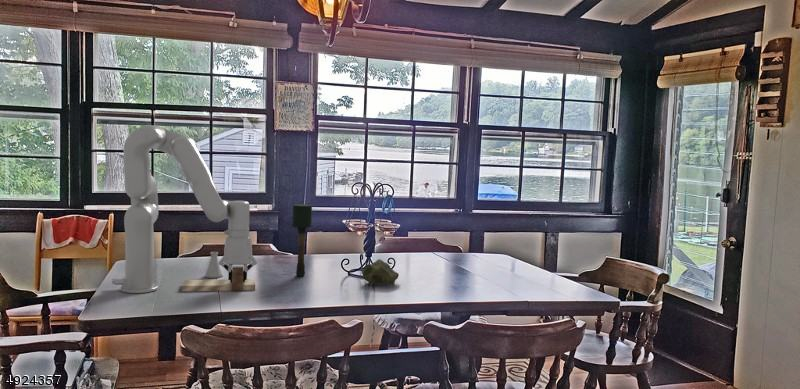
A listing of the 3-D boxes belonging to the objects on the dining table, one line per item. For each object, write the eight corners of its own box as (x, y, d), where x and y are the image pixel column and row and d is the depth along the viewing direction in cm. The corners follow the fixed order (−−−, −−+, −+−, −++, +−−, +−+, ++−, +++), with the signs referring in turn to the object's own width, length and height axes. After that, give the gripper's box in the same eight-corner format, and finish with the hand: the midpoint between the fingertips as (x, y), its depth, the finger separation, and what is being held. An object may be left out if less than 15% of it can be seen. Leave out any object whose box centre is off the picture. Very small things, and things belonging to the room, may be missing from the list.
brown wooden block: (231, 290, 223) (232, 270, 222) (232, 282, 236) (232, 262, 236) (242, 290, 224) (243, 270, 223) (243, 282, 237) (243, 262, 237)
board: (181, 291, 220) (181, 285, 220) (184, 285, 230) (184, 279, 229) (255, 290, 227) (255, 284, 226) (254, 284, 236) (254, 278, 236)
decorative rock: (407, 284, 247) (408, 260, 246) (384, 290, 234) (385, 265, 233) (378, 278, 256) (379, 255, 255) (354, 284, 242) (355, 260, 242)
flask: (220, 278, 243) (220, 254, 242) (202, 278, 243) (202, 253, 242) (225, 275, 250) (225, 251, 250) (207, 274, 250) (208, 250, 249)
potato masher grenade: (314, 275, 257) (316, 205, 254) (303, 278, 249) (305, 206, 247) (297, 272, 260) (299, 203, 258) (286, 276, 252) (288, 205, 250)
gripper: (214, 235, 220) (213, 284, 222) (261, 235, 225) (260, 283, 226) (215, 232, 228) (214, 280, 229) (261, 232, 232) (260, 279, 233)
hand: (237, 281), depth 227 cm, fingers closed on brown wooden block, 4 cm apart
